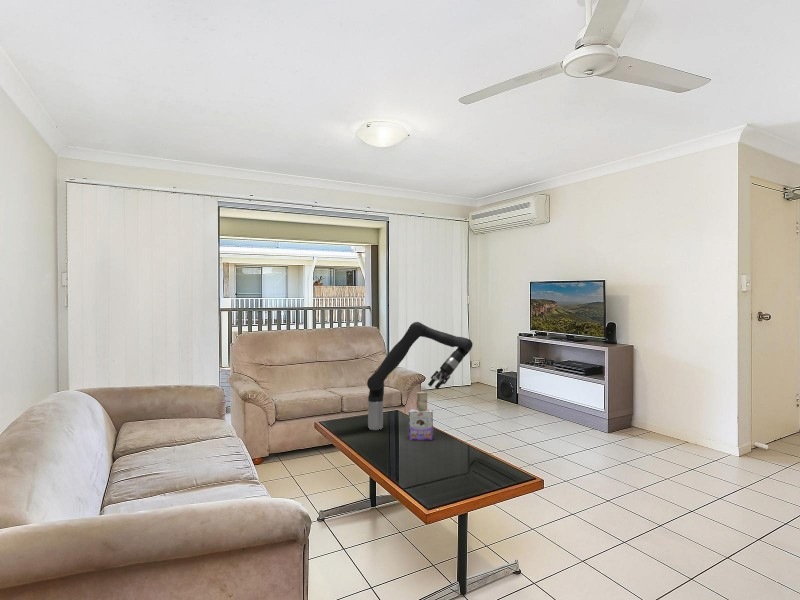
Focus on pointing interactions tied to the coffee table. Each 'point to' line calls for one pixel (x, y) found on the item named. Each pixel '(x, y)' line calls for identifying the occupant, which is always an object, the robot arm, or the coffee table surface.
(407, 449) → the coffee table surface
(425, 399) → the birch block
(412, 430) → the candy box
